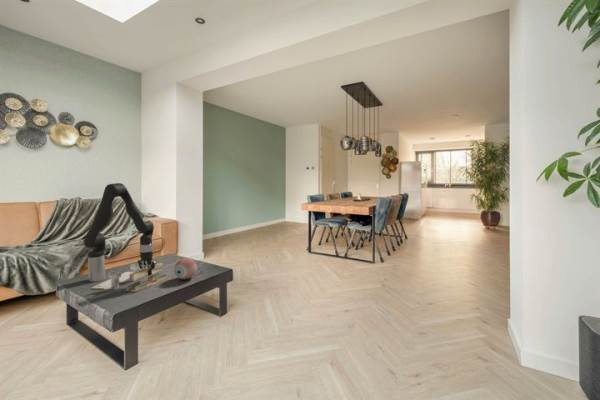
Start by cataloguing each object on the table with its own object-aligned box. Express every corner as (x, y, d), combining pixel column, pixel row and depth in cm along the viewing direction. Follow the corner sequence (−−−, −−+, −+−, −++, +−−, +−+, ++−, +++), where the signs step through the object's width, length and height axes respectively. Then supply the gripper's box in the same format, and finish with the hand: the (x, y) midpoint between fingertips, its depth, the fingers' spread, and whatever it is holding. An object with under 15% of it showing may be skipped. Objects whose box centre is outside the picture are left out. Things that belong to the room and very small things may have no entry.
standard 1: (109, 289, 171) (108, 272, 170) (114, 286, 174) (113, 270, 174) (116, 290, 169) (116, 273, 169) (121, 287, 173) (121, 271, 172)
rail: (129, 281, 168) (129, 274, 168) (158, 269, 192) (158, 262, 191) (134, 281, 167) (134, 274, 167) (162, 269, 191) (162, 263, 190)
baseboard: (141, 274, 201) (127, 273, 202) (141, 270, 200) (127, 269, 202) (108, 290, 170) (91, 289, 171) (107, 286, 170) (91, 285, 171)
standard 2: (130, 280, 186) (129, 265, 186) (134, 278, 190) (134, 263, 189) (137, 281, 185) (137, 265, 184) (142, 279, 188) (141, 264, 188)
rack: (125, 290, 169) (125, 286, 168) (157, 276, 194) (156, 272, 193) (136, 292, 166) (136, 287, 166) (167, 277, 191) (167, 273, 191)
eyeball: (169, 282, 183) (169, 261, 182) (182, 274, 198) (181, 255, 197) (189, 283, 181) (189, 262, 180) (200, 275, 196) (200, 256, 195)
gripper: (133, 251, 176) (134, 275, 178) (150, 252, 173) (151, 277, 174) (142, 248, 184) (143, 272, 185) (159, 249, 180) (160, 274, 181)
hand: (147, 274), depth 179 cm, fingers closed on rail, 3 cm apart
